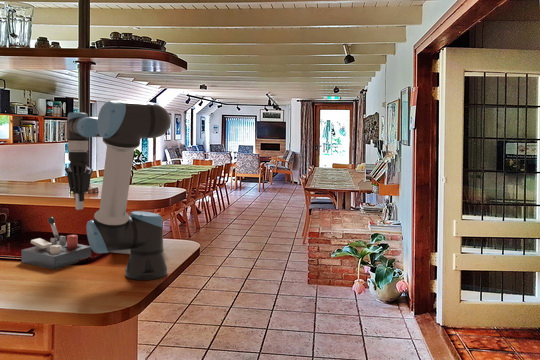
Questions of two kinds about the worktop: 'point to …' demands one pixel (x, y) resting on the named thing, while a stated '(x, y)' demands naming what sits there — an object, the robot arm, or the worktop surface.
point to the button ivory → (55, 249)
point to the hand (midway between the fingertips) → (79, 209)
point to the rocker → (41, 243)
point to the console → (55, 255)
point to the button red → (72, 241)
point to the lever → (53, 227)
